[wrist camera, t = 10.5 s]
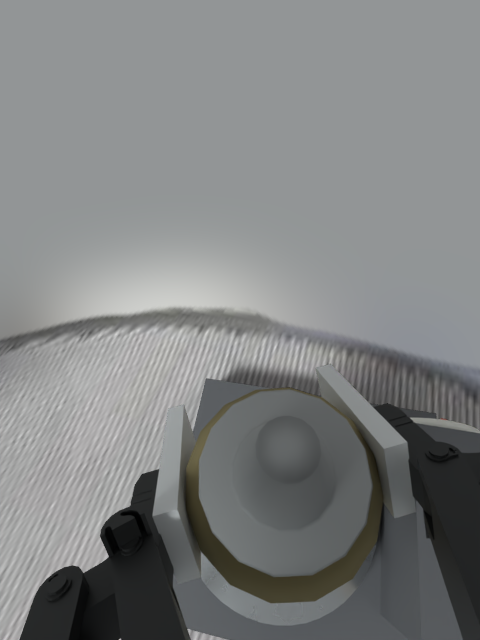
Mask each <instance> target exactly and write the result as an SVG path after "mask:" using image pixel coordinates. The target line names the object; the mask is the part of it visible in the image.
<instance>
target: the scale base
mask: <svg viewBox="0 0 480 640" xmlns="http://www.w3.org/2000/svg"><path fill="white" fill-rule="evenodd" d="M260 389H272V388H266V387H259V386H252V385H246V384H239V383H233V382H226V381H220V380H213V379H207V378H206V381H205V385H204V389H203V393H202V397H201V401H200V406H199V410H198V414H197V418H196V422H195V426H194V431H193V435H194V438H195V441H197V439H198V436H199V434H200V431H201V430H202V429H203V428H204V427H205V426H206V425H207V424H208V423H209V421H210V420H211V419H212V418H213V417H214V416H215V415H216V414H217V413H218V412H219V410H220V409H221V408H222V407H223V406H224V405H225V404H227V403H229V402H232V401H234V400H236V399H238V398H240V397H242V396H244V395H246V394H248V393H250V392H252V391H254V390H260ZM316 396H318V395H316ZM319 397H321V396H319ZM369 404H370V403H369ZM370 405H371V406H372V407H376V406H379V405H377V404H370ZM399 409H400V410H402V411H403V412H404V413H405V414H406V415H407V417H409V418H410V419H412V420H413V422H415V423H416V424H417V425H418V426H419V427H420V428H422V429H423V430H424V431H425V432H426V433H427V434H428V435H429V436H431V437H432V438H433V439H434V440H435V441H436V442H444V443H448V444H451V445H453V446H455V447H456V448H458V449H459V450H460V451H461V452H462V453H479V452H480V430H478V429H477V428H475V427H472V426H469V425H466V424H463V423H459V422H454V421H448V420H447V419H442V418H441V419H436V413H429V412H423V411H416V410H409V409H403V408H399ZM414 499H415V498H414ZM415 507H416V512H414V513H411V514H408V515H404V516H401V517H398V518H394V517H393V516H392V514H391V513H390V511H389V510H388V508H387V507H386V505H385V504H384V502H383V505H382V512H381V518H380V525H379V531H378V538H377V543H376V549H375V552H374V555H373V558H372V561H371V564H370V567H369V569H368V571H367V573H366V575H365V577H364V579H363V580H362V582H361V583H360V584H359V586H358V587H357V589H356V590H355V592H354V593H353V594H352V595H351V596H350V597H349V598H348V599H347V600H346V601H345V602H344V603H343V604H341V605H340V606H339V607H338V608H336V609H335V610H334V611H332V612H330V613H329V614H327V615H325V616H323V617H321V618H319V619H316V620H313V621H311V622H308V623H304V624H298V625H292V626H283V625H271V624H265V623H260V622H257V621H255V620H252V619H249V618H246V617H244V616H243V615H241V614H239V613H237V612H235V611H233V610H232V609H231V608H229V607H228V606H227V605H225V604H224V603H222V602H221V601H220V600H219V599H218V598H217V597H216V596H215V595H214V594H213V593H212V592H211V591H210V590H209V588H208V587H207V586H206V585H205V583H204V582H203V581H202V579H201V578H197V579H193V580H190V581H187V582H183V583H180V584H178V583H177V580H176V577H175V575H174V572H173V588H174V591H175V593H176V596H177V599H178V602H179V605H180V608H181V612H182V615H183V618H184V621H185V624H186V627H187V629H191V630H194V631H198V632H202V633H206V634H209V635H213V636H217V637H220V638H224V639H228V640H463V638H462V635H461V632H460V629H459V625H458V622H457V619H456V616H455V613H454V610H453V607H452V604H451V601H450V598H449V595H448V592H447V588H446V585H445V582H444V579H443V576H442V573H441V570H440V567H439V564H438V561H437V558H436V555H435V552H434V548H433V545H432V542H431V539H430V538H426V530H425V522H424V514H423V508H422V507H421V505H420V504H419V503H418V502H417V500H416V499H415Z"/></svg>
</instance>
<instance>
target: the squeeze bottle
mask: <svg viewBox="0 0 480 640" xmlns="http://www.w3.org/2000/svg"><path fill="white" fill-rule="evenodd" d="M383 499H384V496H383V491H382V487H381V482H380V478H379V473H378V469H377V464H376V459H375V456H374V454H373V452H372V450H371V449H370V447H369V446H368V444H367V442H366V441H365V439H364V438H363V436H362V434H361V433H360V431H359V430H358V428H357V427H356V425H355V423H354V422H353V421H352V420H351V419H350V418H349V417H347V416H346V415H345V414H343V413H342V412H341V411H339V410H338V409H337V408H336V407H334V406H333V405H332V404H330V403H329V402H328V401H327V400H325V399H324V398H322V397H319V396H316V395H312V394H309V393H306V392H303V391H300V390H296V389H293V388H290V387H287V388H274V389H260V390H254V391H252V392H250V393H248V394H246V395H244V396H242V397H240V398H238V399H236V400H234V401H232V402H229V403H227V404H225V405H224V406H223V407H222V408H221V409H220V410H219V412H218V413H217V414H216V415H215V416H214V417H213V418H212V419H211V420H210V421H209V423H208V424H207V425H206V426H205V427H204V428H203V429H202V430H201V431H200V434H199V436H198V439H197V441H196V444H195V447H194V449H193V452H192V454H191V457H190V459H189V462H188V464H187V467H186V512H187V515H188V518H189V520H190V523H191V526H192V529H193V532H194V535H195V538H196V541H197V543H198V546H199V549H200V551H201V552H202V553H203V555H204V556H205V557H206V558H207V559H208V560H209V561H210V563H211V564H212V565H213V566H214V567H215V568H216V569H217V571H218V572H219V573H220V574H221V575H222V576H223V577H224V579H225V580H226V581H227V582H228V583H229V584H230V585H231V586H234V587H236V588H238V589H240V590H242V591H245V592H247V593H249V594H251V595H253V596H256V597H258V598H260V599H262V600H264V601H266V602H269V603H293V602H315V601H317V600H318V599H320V598H322V597H323V596H325V595H327V594H328V593H330V592H332V591H333V590H335V589H337V588H338V587H340V586H342V585H343V584H345V583H347V582H348V581H350V580H352V579H353V578H354V576H355V575H356V573H357V572H358V570H359V569H360V567H361V565H362V564H363V562H364V561H365V559H366V558H367V556H368V554H369V553H370V551H371V550H372V548H373V547H374V545H375V543H376V542H377V538H378V531H379V525H380V518H381V512H382V505H383Z"/></svg>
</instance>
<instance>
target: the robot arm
mask: <svg viewBox="0 0 480 640" xmlns="http://www.w3.org/2000/svg"><path fill="white" fill-rule="evenodd" d="M316 372H317V377H318V383H319V388H320V393H321V397H322V398H324V399H325V400H327V401H328V402H329V403H330V404H332V405H333V406H334V407H336V408H337V409H338V410H339V411H341V412H342V413H343V414H345V415H346V416H347V417H349V418H350V419H351V420H352V421H353V422H354V423H355V425H356V427H357V428H358V430H359V431H360V433H361V434H362V436H363V438H364V439H365V441H366V442H367V444H368V446H369V447H370V449H371V450H372V452H373V454H374V456H375V459H376V464H377V469H378V473H379V478H380V482H381V487H382V491H383V496H384V499H383V502H384V504H385V505H386V507H387V508H388V510H389V511H390V513H391V514H392V516H393V517H394V518H398V517H401V516H404V515H408V514H411V513H414V512H416V507H415V499H416V500H417V502H418V503H419V504H420V505H421V507H422V508H423V514H424V522H425V530H426V538H430V539H431V542H432V545H433V548H434V552H435V555H436V558H437V561H438V564H439V567H440V570H441V573H442V576H443V579H444V582H445V585H446V588H447V592H448V595H449V598H450V601H451V604H452V607H453V610H454V613H455V616H456V619H457V622H458V625H459V629H460V632H461V635H462V638H463V640H480V452H479V453H462V452H461V451H460V450H459V449H458V448H456V447H455V446H453V445H451V444H448V443H444V442H436V441H435V440H434V439H433V438H432V437H431V436H429V435H428V434H427V433H426V432H425V431H424V430H423V429H422V428H420V427H419V426H418V425H417V424H416V423H415V422H413V420H412V419H410V418H409V417H407V415H406V414H405V413H404V412H403V411H402V410H400V409H399V408H397V407H395V406H393V405H390V404H388V403H386V404H383V405H379V406H376V407H372V406H371V405H370V404H369V403H368V402H367V400H366V399H365V398H364V397H363V396H362V395H361V394H360V393H359V392H358V391H357V390H356V389H355V388H354V387H353V386H352V385H351V384H350V383H349V382H348V381H347V380H346V379H345V378H344V377H343V376H342V375H341V374H340V373H339V372H338V371H337V370H336V369H335V368H334V367H333V366H332V365H331V364H328V365H325V366H321V367H317V368H316ZM195 444H196V441H195V438H194V435H193V432H192V429H191V425H190V422H189V419H188V416H187V413H186V410H185V407H184V405H180V406H176V407H173V408H169V409H168V413H167V420H166V427H165V434H164V440H163V447H162V454H161V461H160V468H159V469H158V470H154V471H151V472H147V473H144V474H142V475H141V477H140V478H139V480H138V481H137V482H136V484H135V487H134V491H133V497H132V500H131V505H130V507H128V508H125V509H122V510H120V511H118V512H117V513H115V514H114V515H112V516H111V517H110V518H109V519H108V520H107V521H106V522H105V524H104V526H103V527H102V529H101V534H100V537H101V539H102V542H103V544H104V546H105V548H106V551H107V553H108V555H109V558H107V559H106V560H105V561H103V562H102V563H100V564H99V565H97V566H95V567H94V568H92V569H90V570H88V571H87V572H85V573H83V572H82V570H81V569H80V568H79V567H77V566H69V567H64V568H62V569H60V570H58V571H56V572H55V573H54V574H52V575H51V576H50V577H49V578H47V579H46V581H45V582H44V583H43V584H42V585H41V586H40V588H39V589H38V591H37V593H36V595H35V597H34V600H33V603H32V606H31V608H30V611H29V614H28V617H27V620H26V623H25V626H24V628H23V631H22V634H21V637H20V640H119V639H120V638H121V640H191V639H190V636H189V633H188V630H187V627H186V624H185V621H184V618H183V615H182V612H181V608H180V605H179V602H178V599H177V596H176V593H175V591H174V588H173V572H174V575H175V577H176V580H177V583H178V584H180V583H183V582H187V581H190V580H193V579H197V578H200V577H201V551H200V549H199V546H198V543H197V541H196V538H195V535H194V532H193V529H192V526H191V523H190V520H189V518H188V515H187V512H186V467H187V464H188V462H189V459H190V457H191V454H192V452H193V449H194V447H195ZM414 498H415V499H414Z"/></svg>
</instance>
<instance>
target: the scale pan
mask: <svg viewBox="0 0 480 640" xmlns="http://www.w3.org/2000/svg"><path fill="white" fill-rule="evenodd" d="M376 543H377V542H376ZM376 543H375V545H374V547H373V548H372V550H371V551H370V553H369V554H368V556H367V558H366V559H365V561H364V562H363V564H362V565H361V567H360V569H359V570H358V572H357V573H356V575H355V576H354V578H353V579H352V580H350V581H348V582H347V583H345V584H343V585H342V586H340V587H338V588H337V589H335V590H333V591H332V592H330V593H328V594H327V595H325V596H323V597H322V598H320V599H318V600H317V601H315V602H293V603H269V602H266V601H264V600H262V599H260V598H258V597H256V596H253V595H251V594H249V593H247V592H245V591H242V590H240V589H238V588H236V587H234V586H231V585H230V584H229V583H228V582H227V581H226V580H225V579H224V577H223V576H222V575H221V574H220V573H219V572H218V571H217V569H216V568H215V567H214V566H213V565H212V564H211V563H210V561H209V560H208V559H207V558H206V557H205V556H204V555H203V553H202V552H201V577H200V578H201V579H202V581H203V582H204V583H205V585H206V586H207V587H208V588H209V590H210V591H211V592H212V593H213V594H214V595H215V596H216V597H217V598H218V599H219V600H220V601H221V602H222V603H224V604H225V605H227V606H228V607H229V608H231V609H232V610H233V611H235V612H237V613H239V614H241V615H243V616H244V617H246V618H249V619H252V620H255V621H257V622H260V623H265V624H271V625H283V626H292V625H298V624H304V623H308V622H311V621H313V620H316V619H319V618H321V617H323V616H325V615H327V614H329V613H330V612H332V611H334V610H335V609H336V608H338V607H339V606H340V605H341V604H343V603H344V602H345V601H346V600H347V599H348V598H349V597H350V596H351V595H352V594H353V593H354V592H355V590H356V589H357V587H358V586H359V584H360V583H361V582H362V580H363V579H364V577H365V575H366V573H367V571H368V569H369V567H370V564H371V561H372V558H373V555H374V552H375V549H376Z"/></svg>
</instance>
